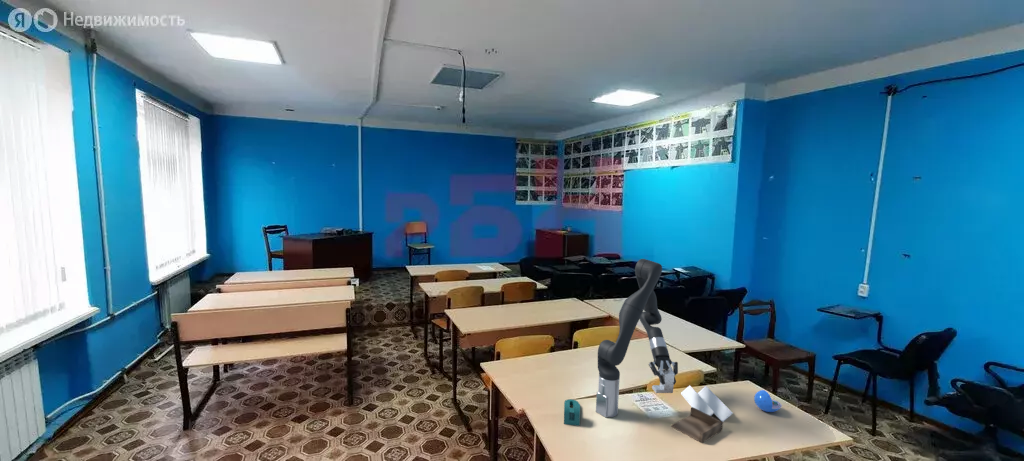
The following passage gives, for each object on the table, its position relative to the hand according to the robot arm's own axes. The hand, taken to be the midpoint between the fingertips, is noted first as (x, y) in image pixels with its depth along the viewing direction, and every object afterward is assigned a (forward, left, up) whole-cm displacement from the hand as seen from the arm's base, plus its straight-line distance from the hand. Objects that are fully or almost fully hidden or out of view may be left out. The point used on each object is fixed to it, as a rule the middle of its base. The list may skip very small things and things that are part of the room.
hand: (668, 384), depth 184 cm
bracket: (-38, +23, -14) cm, 47 cm away
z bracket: (+21, -7, -14) cm, 26 cm away
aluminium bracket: (-1, +3, -4) cm, 5 cm away
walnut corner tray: (0, -14, -14) cm, 20 cm away
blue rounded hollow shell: (+43, -24, -14) cm, 52 cm away
